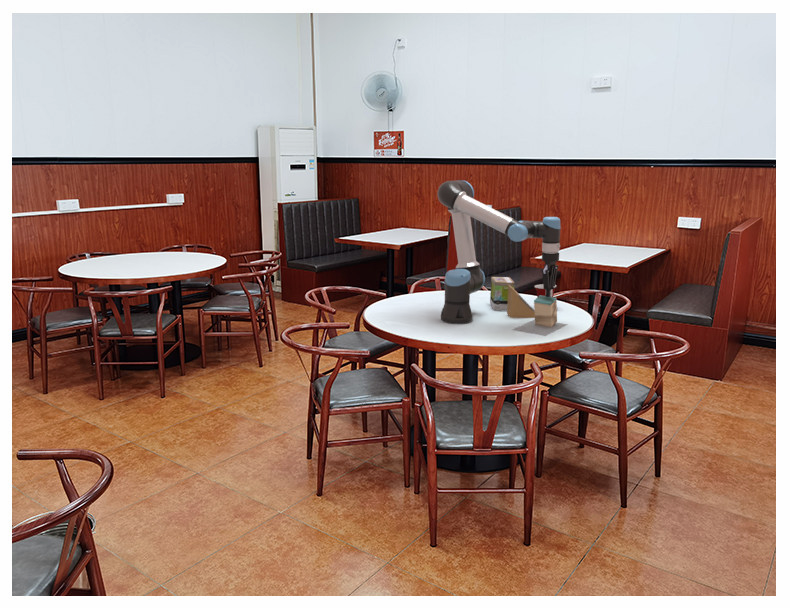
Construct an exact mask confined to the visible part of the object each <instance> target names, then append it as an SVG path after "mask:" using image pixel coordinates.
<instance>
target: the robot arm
mask: <svg viewBox="0 0 790 608" xmlns="http://www.w3.org/2000/svg"><path fill="white" fill-rule="evenodd" d="M474 196H475V190H474V187H473V186H472V185H471V183H469V182H468V181H467V180H463V179H457V180H447V181H445V182H442V183H441V184H440V185H439V187H438V189H437V199H438V201H439V202H440V203H441V205H443V206H445V207H447V211H448V213H450V214H451V219H452V226H453V233H454V241H455V249H456V256H457V264H456V266H455V269H450V270H448V271H446V273H445V276H444V277H445V278H444V304H443V308H442V310H441V313H440V321H441V322H443V323H447V324H452V325H453V324H454V325H455V324H457V325H460V324H462V325H463V324H469V323H471V322H473V319H474V318H473V317H474V316H473V312H472V309H471V305H470V298H471V297H470V295H471V294H474V293H476V292H478V291H479V290H481V289H482V288H483V286H484V284H485V283H486V282H485V281H486V276H485V273H484V271H483V270H482V269H481V264H480V262H478V261H477V259H476V258H477V257H476V251H475V242H474V235H473V228H472V220H471V218H473V219H475V220H476V221H479V222H481V223H482V224H485V225H486V226H489V227H490V228H493V229H494V230H495V231H498V232H500V233H503V235H504V234H505V235H506V236H507V237H509V239H510V241H512V242H514V243H515V242H517V243H518V242H523V241H525V240H528V239H542V243H541V251H542V252H541V261H543V262H544V267H543V268H544V269H541V274H542V284H543V287H544V289H546V297H552V292H553V289H555V290H556V288H554V287H555V285H556V280H557V279H556V278H557V273H558V269H559V265H557V262H559V261H560V248H561V244H560V242H561V227H562V226H561V219H560V218H559V217H557V216H545V217H543V219H542V220H540V221H536V220H535V221H534V220H516V219H514V218H512V217H511V216H508V215H507V214H505V213H503V212H500V211H499V210H496V209H494V208H493V207H491V206H488V205H487V204H485V203H483V202H481V201H479V200H477V199H475V198H474Z"/></svg>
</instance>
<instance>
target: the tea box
mask: <svg viewBox="0 0 790 608" xmlns="http://www.w3.org/2000/svg"><path fill="white" fill-rule="evenodd" d="M490 279H491V280H490V293H489V295H490V298H489V303H490V306H491V308H492V309H493V311H500V310H507V305H508V285H510V286H511V287H512V288H513V289H514V290H515V281H514V280H513V279H512V278H511V277H510V276H509V277H508V276H506V277H505V276H491V278H490Z"/></svg>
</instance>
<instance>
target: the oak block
mask: <svg viewBox="0 0 790 608" xmlns="http://www.w3.org/2000/svg"><path fill="white" fill-rule="evenodd" d="M557 302H558V301H557V297H554V296H553V297H546V296H542V295H540V296H538V297H537V296H536V298H535V299H534V300H533V304H534V305H533V309H534V310H535V318H534V320H535V324H537V325H543V326H548V327H552V326H553V325H554V324H555V323H556V322H557V323H558V311H557V310H558V308H557Z"/></svg>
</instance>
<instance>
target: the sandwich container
mask: <svg viewBox="0 0 790 608" xmlns="http://www.w3.org/2000/svg"><path fill="white" fill-rule="evenodd" d="M506 314H508V315H507V316H508V317H509V318H512V319H513V318H514V319H516V318H517V319H519V318H521V319H525V318H527V319H528V318H529V319H530V318H534V319H535V310H534V307H532V306H531V305H530V303H528V302H527V301H526V300H525V299H524V298H523V297H522V296H521V294H520V293H519V292H517V290H515V288H514V289H513V288H512V287H511V286H510V285H508V305H507V311H506Z"/></svg>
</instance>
